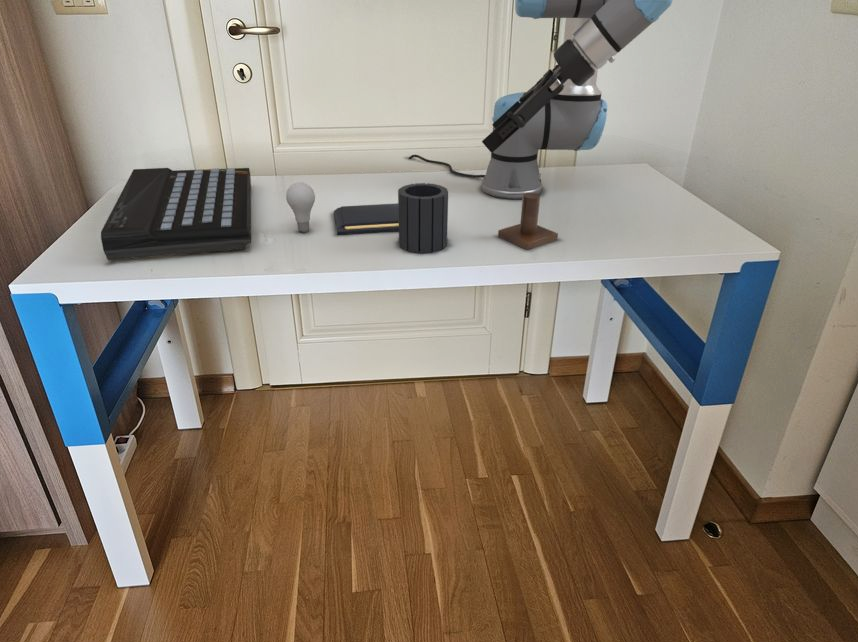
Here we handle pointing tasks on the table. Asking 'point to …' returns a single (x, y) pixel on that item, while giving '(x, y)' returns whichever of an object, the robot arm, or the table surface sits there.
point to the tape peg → (528, 226)
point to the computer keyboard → (179, 213)
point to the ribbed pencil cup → (423, 217)
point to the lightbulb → (301, 203)
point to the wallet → (366, 219)
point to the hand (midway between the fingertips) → (491, 138)
